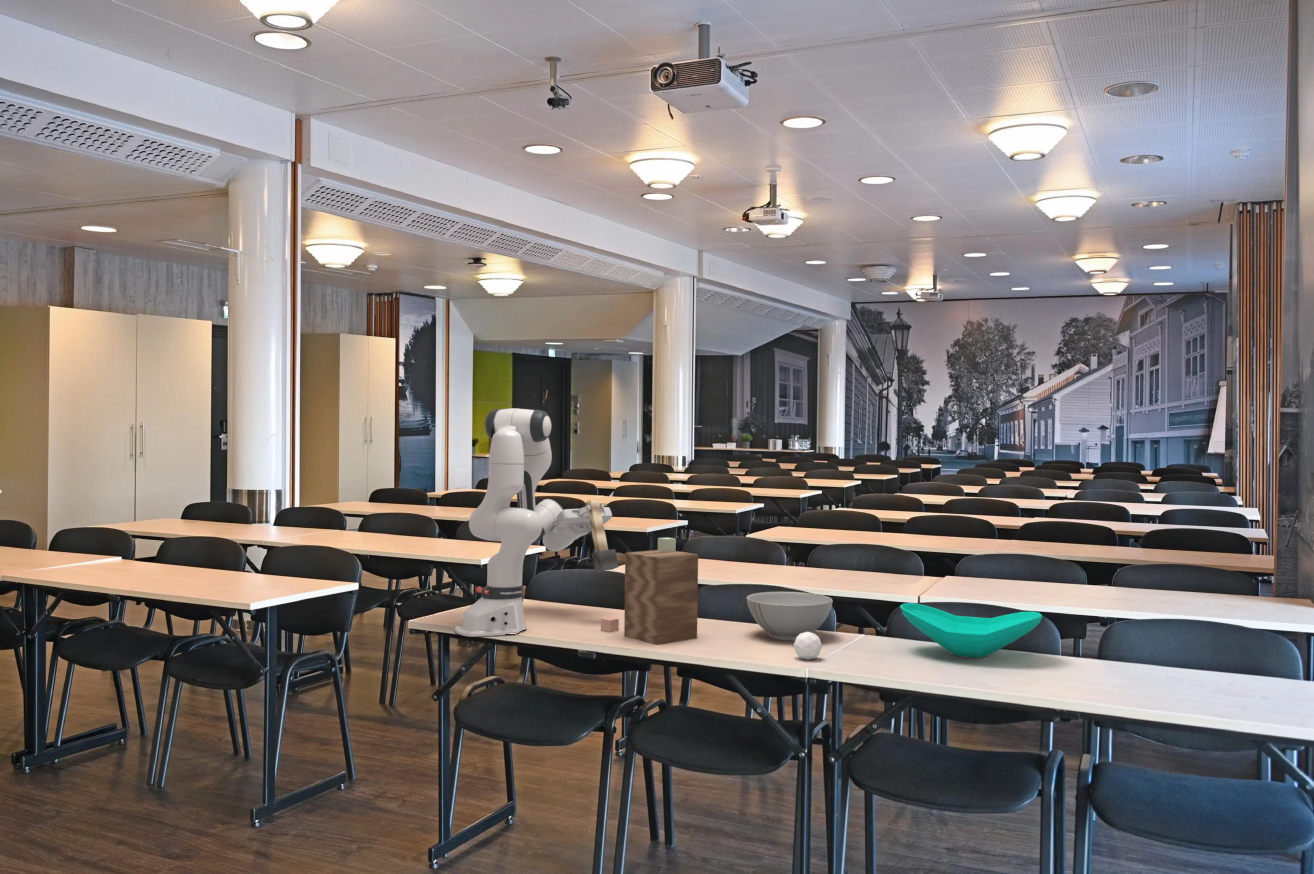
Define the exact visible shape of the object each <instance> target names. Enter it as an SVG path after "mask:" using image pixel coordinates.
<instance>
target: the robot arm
mask: <svg viewBox="0 0 1314 874" xmlns="http://www.w3.org/2000/svg"><path fill="white" fill-rule="evenodd" d="M484 429H485V432H486V435H487V437H488V438H489V439H490V440H491V442H490V448H489V458H488V481H487V487H486V493H485V494H484V495H485V496H484V498H483V499H482V502H481V503H480V504H479V505H478V506H477V507H476V508H475V509H474V510H473V511H472V512H471V514H470V516H469V520H468V527H469V531H470V533H471V534H472V536H474V537H476V538H478V539H482V540H485V541H489V542H500V548H499V551H497V553H496V554H494V555H493V556H491V557H490V558H489V560H488V562H487V567H486V569H487V571H486V572H487V575H486V576H487V577H486V580H487V581H486V585H485V586H484V587H483V586H477V587H476V589H475V590H476V592H477V593H478V594H481V597H480V598H478V600H476V601H475V603H473V604H472V605H471V606H469V607H468V608H467V609H465V611H464V612H463V616H462V621H461V625H460V626H459V625H458V626H455V627H454V632H455V633H456V634H458V635H460V636H463V637H469V638H470V637H473V638H475V637H476V638H477V637H493V636H506V635H505V634H510V633H518V632H519V631H522V630H525V629H526V628H527V625H526V621H525V615H524V608H523V607H524V605H523V602H524V596H525V595H524V594H525V592H524V584H523V572H524V571H523V570H524V560H525V558H526V553H527V552H528V550H529V548H530V547H531V545H532V544H533V543H538V542H539V541H541V540H542V544H543V546H544V547H545V548H546V550H548V551H550V552H560V551H563V550H564V549H566V548H568V547H569V546H570V545H571V544H573V543H574V541H575V540H579V538H580V537H583V536H585V535H589V534H592V531H591V526H590V520H589V515H588V512H589V511H591V510H592V505H585V506H583V507H580V508H566V509H564V507H563V506H562V505H561V503H558V502H557V500H554V499H552V498H551V499H550V498H544V499H543V500H541V501H540V502H538V504H536V495H535V494H536V489H537V488H538V487H537V486H538V485H539V483H540V481H541V479H542V478H543V476H544V475H545V474H546V473H547V472H548V470H549V468H550V466H551V464H552V458H553V455H552V448H551V443H550V442H551V441H550V438H549V437H550V436H551V432H552V419H551V416H550V415H549V414H548V413H547V412H546V411H544V410H540V409H526V408H518V407H516V408H515V407H514V408H513V407H512V408H497V409H493V410H490V411H489V412H488V414H487V415H486V417H485V421H484ZM515 495H516V501H517V507H511V501H512V500H513V497H514V496H515ZM599 504H600V503H599ZM600 509H601V514H602V520H603V525H605V524H606V523H608V522H609V521H610V520H611V519H612V517H613V513H612V511H611V508H610V506H609V507H608V506H607V507H604V504H603V503H602V504H600ZM527 629H528V628H527ZM527 629H526V630H527ZM526 630H525V631H526ZM522 632H523V631H522Z"/></svg>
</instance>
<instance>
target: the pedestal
mask: <svg viewBox="0 0 1314 874" xmlns="http://www.w3.org/2000/svg"><path fill="white" fill-rule="evenodd" d="M624 554H625V555H624V557H625V559H624V560H625V563H624V564H625V565H624V621H623V622H624V623H623V624H624V628H623V629H624V632H623V633H624V635H623V636H624V637H627V638H629V637H630V638H629V639H633V638H634V640H637V639H638V640H637V641H641V642H645V643H650V644H653V645H657V646H659V645H664V644H671V643H678V642H683V641H689V640H695V639H698V606H699V605H698V604H699V603H698V599H699V597H698V596H699V594H698V593H699V592H698V591H699V589H698V588H699V586H698V585H699V554H698V553H692V552H684V551H679V550H676V551H673V552H662V551H658V549H655V550H654V549H651V550H643V551H642V550H641V551H630V552H629V551H627V552H624ZM658 644H659V645H658Z"/></svg>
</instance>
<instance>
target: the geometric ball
mask: <svg viewBox="0 0 1314 874" xmlns="http://www.w3.org/2000/svg"><path fill="white" fill-rule="evenodd" d="M822 647H823V644H822V642H821V639H820V637H819V636H818V635H817V634H816V633H814V632H812V633H810V632H804V633H800V634H799V635H798V636H797V638H796V640H794V642H793V648H794V651H795V654H796V655H797V656H798V657H799V658H800V659H803V660H806V661H809V660H813V659H816V658H818V656H819V655H820V653H821V650H822Z"/></svg>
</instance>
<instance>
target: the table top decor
mask: <svg viewBox="0 0 1314 874" xmlns="http://www.w3.org/2000/svg"><path fill="white" fill-rule="evenodd" d="M899 606H900V609H901V612H902V615H903V616H904V617H905V618H906V619H907V620H908V622H909V623H910V624H912V625H913V627H915V628H916V629H917V630H919V631H920V632H921V633H923V634H924V635H926V637H928V638H930V639H931V640H932V641H934V642H935V643H937V644H938V645H939V646H940V647H942V648H944V649H945V650H947V651H948V652H949V653H951V654H952V655H955V656H957V657H963V658H974V659H975V658H977V659H978V658H984V657H988V656H990V655H991V654H994V653H995V652H997V651H999V650H1001V649H1002V648H1004V647H1006V646H1009V644H1011V643H1014V642H1015V641H1017V640H1019V639H1021V637H1023V636H1025V635H1027V634H1028V633H1030V632H1031V631H1033V630H1034V629H1035V628H1036V627H1037V626H1038V625H1039V624H1041V621H1042V618H1043V615H1042V614H1041V613H1040V612H1037V611H1022V612H1021V611H1019V612H1014V613H1009V614H1004V615H999V616H995V617H992V618H991V617H979V616H978V617H976V616H965V615H963V616H961V615H955V614H953V613H949V612H947V611H944V610H941V609H939V608H935V607H932V606H928V605H926V604H919V603H915V602H912V603H911V602H910V603H909V602H908V603H907V602H906V603H902V604H901V605H899Z"/></svg>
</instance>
